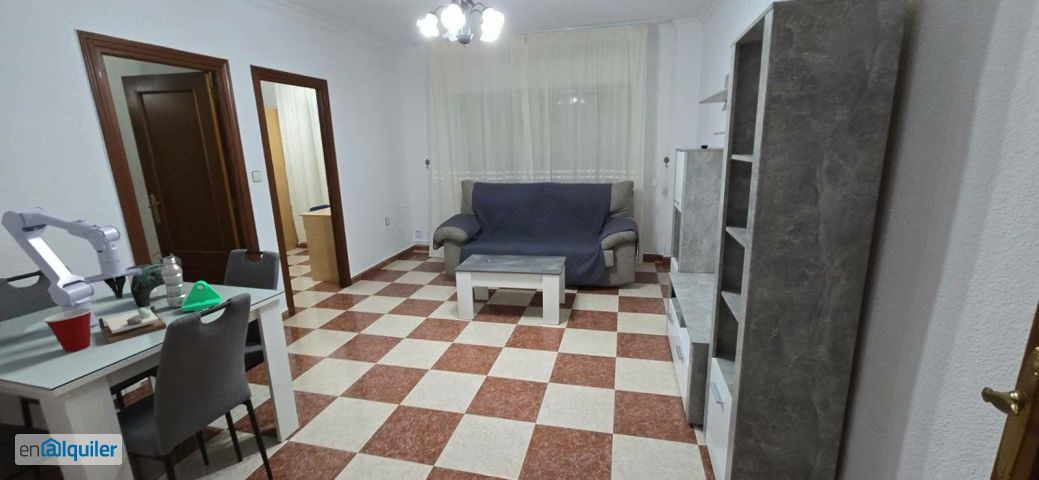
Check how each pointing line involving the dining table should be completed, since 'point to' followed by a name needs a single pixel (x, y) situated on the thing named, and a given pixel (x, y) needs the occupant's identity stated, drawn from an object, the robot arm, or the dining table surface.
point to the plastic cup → (71, 328)
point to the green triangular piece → (201, 298)
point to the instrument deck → (123, 321)
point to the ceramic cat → (148, 281)
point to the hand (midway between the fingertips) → (119, 297)
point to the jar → (133, 275)
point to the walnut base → (131, 330)
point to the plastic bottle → (173, 282)
